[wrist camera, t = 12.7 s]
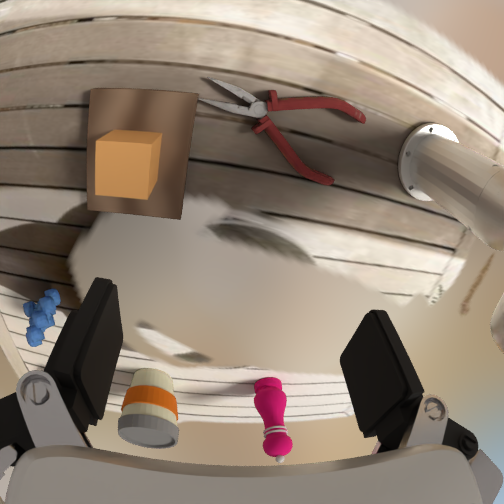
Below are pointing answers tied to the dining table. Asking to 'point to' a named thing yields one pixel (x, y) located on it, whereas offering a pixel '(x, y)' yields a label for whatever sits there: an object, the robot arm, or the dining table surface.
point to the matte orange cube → (127, 163)
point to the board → (149, 120)
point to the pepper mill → (273, 417)
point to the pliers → (274, 104)
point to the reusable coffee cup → (150, 411)
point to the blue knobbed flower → (41, 316)
